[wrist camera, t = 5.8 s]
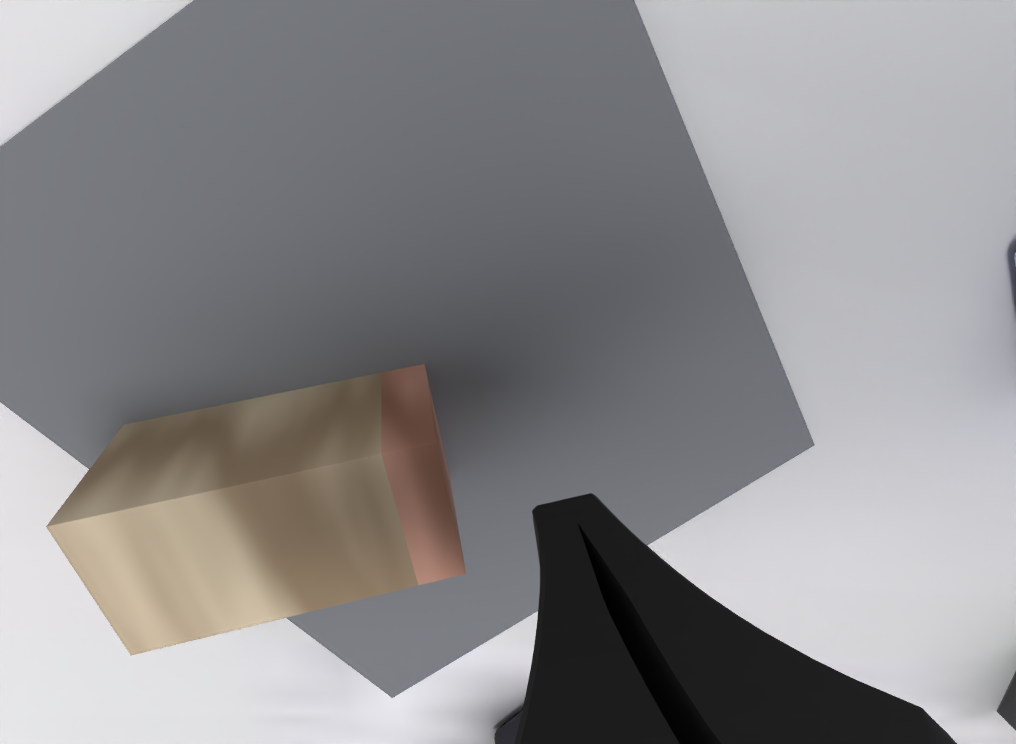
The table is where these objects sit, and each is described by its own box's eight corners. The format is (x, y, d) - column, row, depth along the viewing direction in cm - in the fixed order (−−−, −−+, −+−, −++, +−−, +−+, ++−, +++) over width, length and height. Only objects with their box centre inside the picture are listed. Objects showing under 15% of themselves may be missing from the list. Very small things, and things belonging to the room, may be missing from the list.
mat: (808, 440, 21) (814, 445, 20) (392, 690, 22) (392, 698, 22) (527, -247, 11) (530, -255, 11) (-158, 271, 13) (-169, 274, 13)
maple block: (436, 441, 13) (46, 526, 12) (465, 573, 15) (131, 655, 14) (424, 363, 16) (123, 424, 15) (449, 477, 18) (182, 538, 17)
